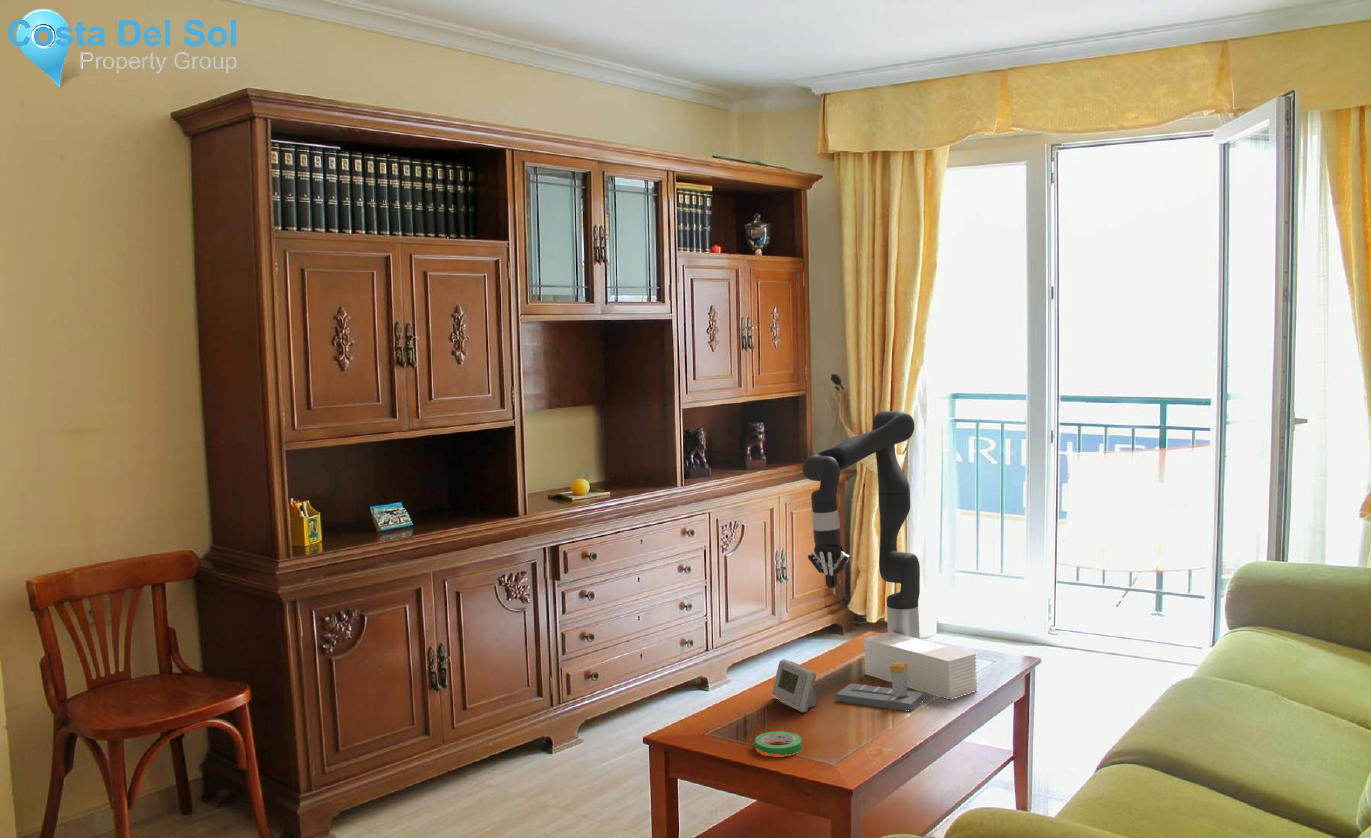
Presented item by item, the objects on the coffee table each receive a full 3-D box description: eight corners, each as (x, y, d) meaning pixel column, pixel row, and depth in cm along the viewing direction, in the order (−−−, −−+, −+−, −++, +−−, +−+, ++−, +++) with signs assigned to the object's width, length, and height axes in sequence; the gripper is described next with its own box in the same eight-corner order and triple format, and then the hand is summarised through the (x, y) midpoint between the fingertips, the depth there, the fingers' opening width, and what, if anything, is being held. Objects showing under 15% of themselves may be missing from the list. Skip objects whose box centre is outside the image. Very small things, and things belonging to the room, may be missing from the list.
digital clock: (769, 698, 289) (767, 659, 288) (800, 693, 291) (798, 655, 291) (790, 716, 273) (788, 676, 273) (823, 711, 275) (821, 671, 275)
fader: (895, 692, 281) (894, 661, 280) (908, 693, 279) (907, 663, 279) (890, 695, 278) (889, 665, 277) (904, 697, 276) (902, 666, 276)
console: (851, 690, 291) (850, 682, 291) (924, 700, 280) (924, 692, 280) (836, 701, 283) (835, 693, 283) (911, 711, 272) (911, 703, 272)
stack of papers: (977, 692, 285) (975, 653, 284) (949, 701, 279) (948, 661, 279) (892, 667, 312) (890, 631, 311) (865, 675, 306) (863, 638, 305)
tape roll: (811, 748, 251) (810, 737, 251) (782, 762, 243) (782, 751, 243) (774, 738, 259) (774, 727, 258) (745, 752, 251) (745, 741, 250)
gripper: (853, 524, 293) (859, 585, 295) (811, 523, 301) (817, 583, 302) (841, 530, 287) (847, 592, 289) (799, 529, 295) (804, 589, 296)
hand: (832, 587), depth 296 cm, fingers closed
